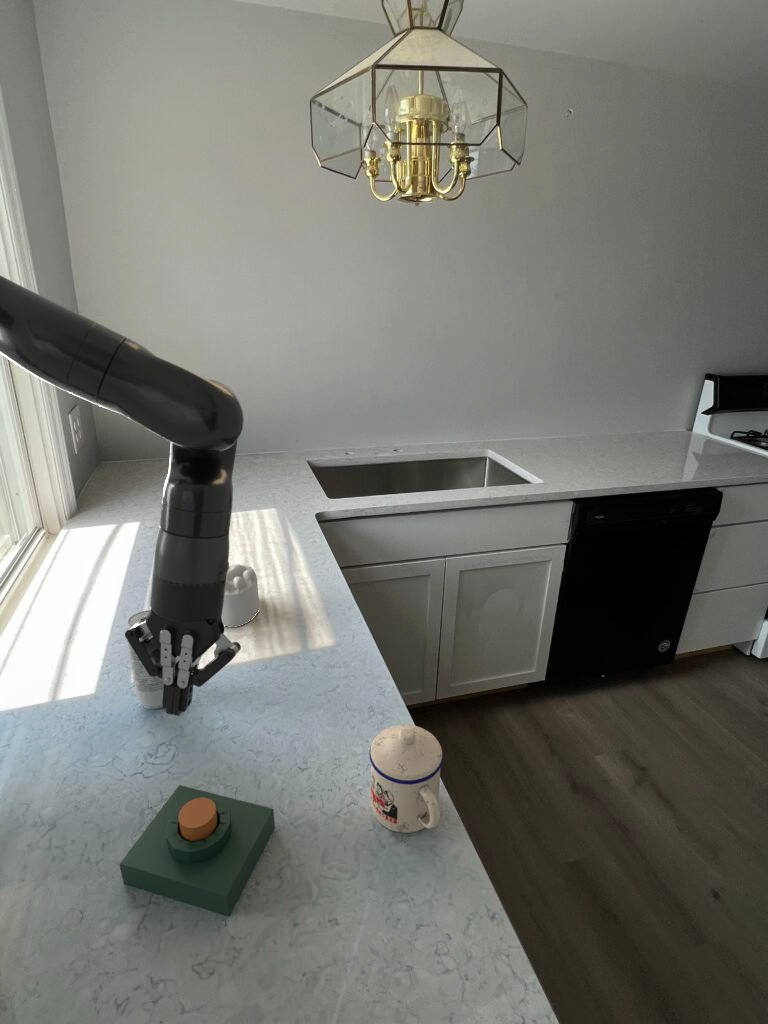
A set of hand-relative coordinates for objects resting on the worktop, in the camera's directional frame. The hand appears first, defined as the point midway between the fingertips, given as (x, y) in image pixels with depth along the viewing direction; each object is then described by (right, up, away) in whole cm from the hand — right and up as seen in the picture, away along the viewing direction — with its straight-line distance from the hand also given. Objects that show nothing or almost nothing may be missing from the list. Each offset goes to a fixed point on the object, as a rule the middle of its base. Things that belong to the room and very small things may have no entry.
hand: (176, 710), depth 63 cm
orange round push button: (+3, -13, 0) cm, 13 cm away
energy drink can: (-13, -8, +27) cm, 31 cm away
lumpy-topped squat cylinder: (-8, +2, +52) cm, 53 cm away
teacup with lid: (+27, -16, +7) cm, 32 cm away
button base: (+3, -17, +1) cm, 18 cm away
